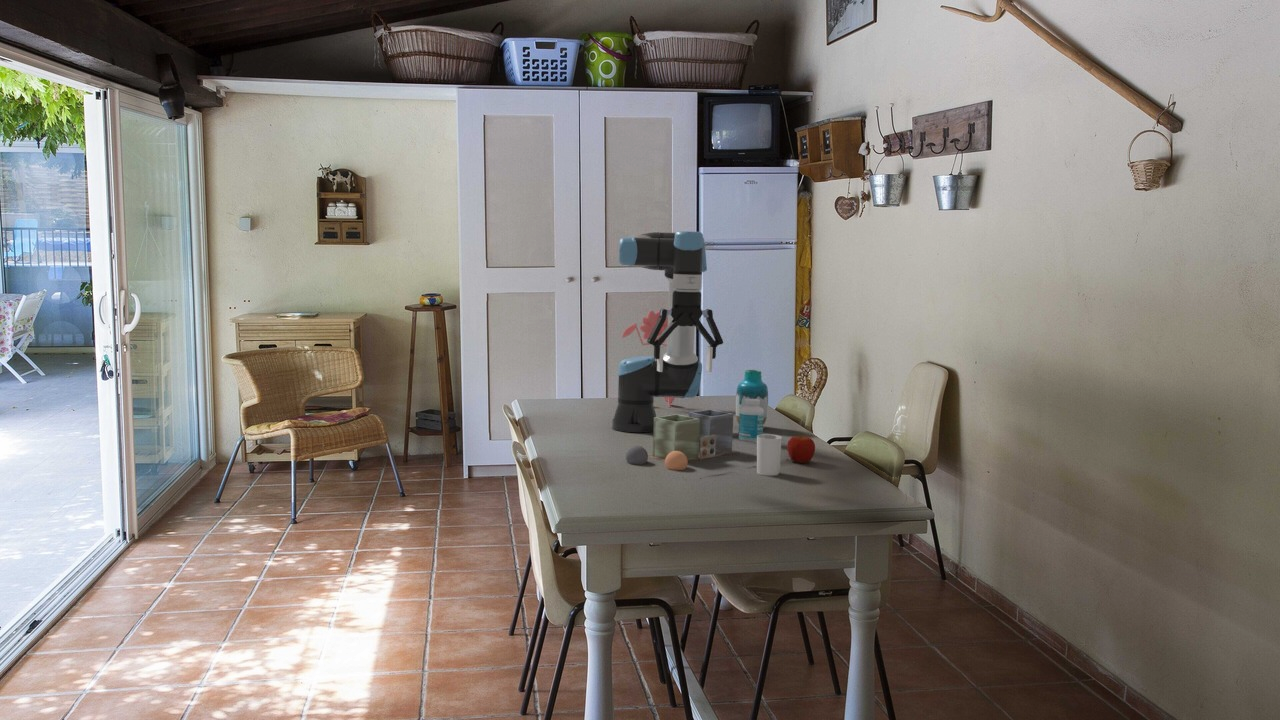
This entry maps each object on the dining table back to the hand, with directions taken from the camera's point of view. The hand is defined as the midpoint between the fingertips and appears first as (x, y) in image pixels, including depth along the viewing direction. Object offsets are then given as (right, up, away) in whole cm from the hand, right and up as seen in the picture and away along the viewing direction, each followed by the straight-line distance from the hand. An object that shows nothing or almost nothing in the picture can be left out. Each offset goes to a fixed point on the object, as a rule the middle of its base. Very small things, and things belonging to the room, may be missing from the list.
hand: (684, 371), depth 269 cm
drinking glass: (+23, -28, +5) cm, 36 cm away
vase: (+25, -20, +69) cm, 76 cm away
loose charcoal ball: (-13, -26, +7) cm, 30 cm away
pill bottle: (+22, -23, +44) cm, 55 cm away
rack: (+3, -25, +20) cm, 32 cm away
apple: (+34, -26, +20) cm, 47 cm away
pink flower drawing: (-7, -14, +110) cm, 111 cm away
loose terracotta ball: (-2, -27, +2) cm, 27 cm away
